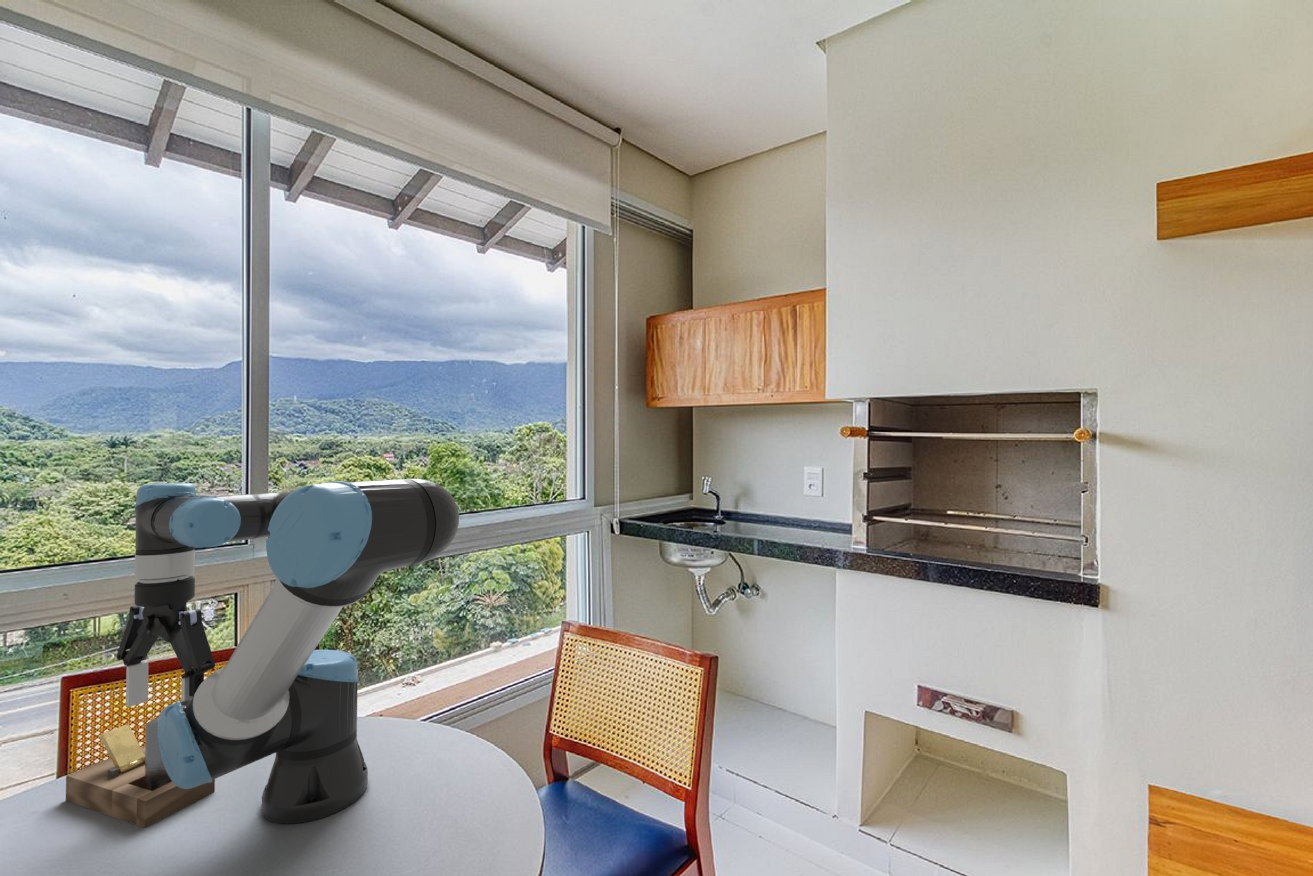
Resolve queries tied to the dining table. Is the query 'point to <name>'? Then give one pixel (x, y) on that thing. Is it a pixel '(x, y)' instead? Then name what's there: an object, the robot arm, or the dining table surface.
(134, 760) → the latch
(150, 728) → the peg
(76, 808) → the dining table surface
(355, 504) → the robot arm
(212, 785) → the block
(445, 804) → the dining table surface
